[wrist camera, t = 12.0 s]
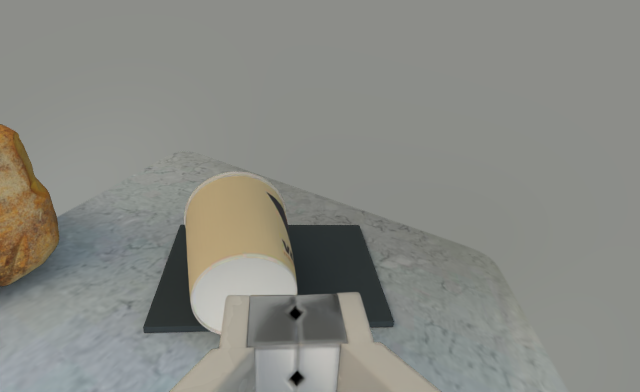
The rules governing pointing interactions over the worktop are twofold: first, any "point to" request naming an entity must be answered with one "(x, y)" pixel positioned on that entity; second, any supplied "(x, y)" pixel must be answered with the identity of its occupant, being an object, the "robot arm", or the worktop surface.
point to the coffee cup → (236, 244)
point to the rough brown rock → (22, 213)
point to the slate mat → (310, 267)
